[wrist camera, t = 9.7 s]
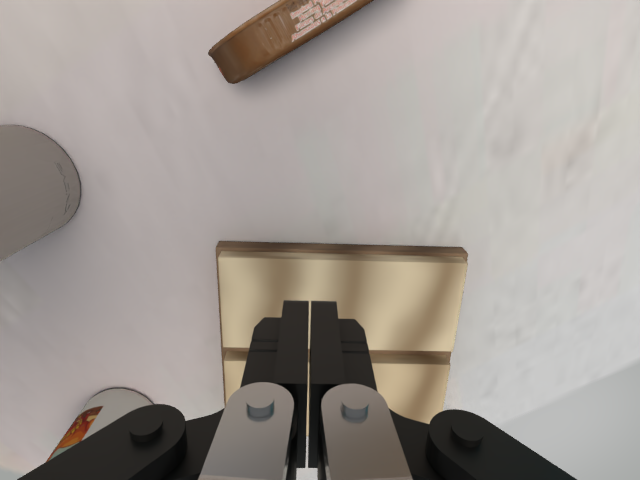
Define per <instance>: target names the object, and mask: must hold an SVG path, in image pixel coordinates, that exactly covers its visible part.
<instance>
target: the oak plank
mask: <svg viewBox="0 0 640 480" xmlns="http://www.w3.org/2000/svg"><path fill="white" fill-rule="evenodd" d="M218 264H219V282H220V301H221V320H222V338H223V347H237V348H250V343H251V339H252V335H253V331H254V327H255V326H256V325H257V324H258V323H259V322H260V321H261V320H262V319H263V318H264V317H280V318H281V316H282V309H283V301H284V300H300V301H309V331H308V349H310V320H311V301H336V302H337V310H338V319H355V320H356V321H357V322H358V323H359V324H360V325H361V326H362V327H363V328H364V330H365V334H366V339H367V344H368V348H369V350H401V351H453V348H454V342H455V336H456V330H457V324H458V318H459V312H460V306H461V300H462V295H463V289H464V283H465V277H466V271H467V265H468V263H467V262H466V261H465V260H464V259H463V257H454V256H414V255H374V254H334V253H293V252H253V251H221V253H220V255H219V257H218Z"/></svg>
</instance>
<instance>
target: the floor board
mask: <svg viewBox="0 0 640 480" xmlns="http://www.w3.org/2000/svg"><path fill="white" fill-rule="evenodd" d="M221 251H253V252H293V253H334V254H374V255H414V256H454V257H463V259H464V260H465V261H466V262H467V257H468V253H467V252H466V251H465V250H464V249H463V248H462V247H427V246H388V245H349V244H310V243H270V242H231V241H219V243H218V244H217V246H216V260H217V278H218V295H219V313H220V330H221V348H222V366H223V383H224V401H225V406H226V404H227V401H228V399H229V398H230V396H231V395H232V394H233V393H234V392H235V391H237V390H238V389H239V388H240V386H241V381H242V377H243V373H244V369H245V364H246V360H247V356H248V352H249V348H237V347H223V338H222V320H221V301H220V282H219V264H218V257H219V255H220V253H221ZM309 354H310V349H308V392H307V426H306V436H309ZM369 354H370V358H371V363H372V367H373V372H374V377H375V381H376V386H377V391H378V393H379V394H380V395H381V396H382V397H383V398H384V399H385V401H386V403H387V405H388V408H390V409H391V410H392V411H394V412H395V413H397V414H399V415H401V416H403V417H406V418H409V419H412V420H416V421H420V422H423V423H427V424H430V421H431V419H432V418H433V417H434V416H435V415H436V414H438V413H439V412H442V411H443V405H444V399H445V393H446V387H447V381H448V376H449V370H450V363H449V362H450V356H451V351H401V350H369Z"/></svg>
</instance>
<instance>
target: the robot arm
mask: <svg viewBox="0 0 640 480" xmlns="http://www.w3.org/2000/svg"><path fill="white" fill-rule="evenodd" d="M79 199H80V182H79V179H78V175H77V172H76V170H75V168H74V166H73V164H72V162H71V160H70V159H69V157H68V156H67V155H66V153H65V152H64V151H63V149H62V148H60V147H59V146H58V145H57V144H56V143H55V142H54V141H53V140H51V139H50V138H48V137H47V136H45V135H44V134H42V133H40V132H38V131H35V130H33V129H31V128H27V127H23V126H18V125H2V126H0V261H2V260H4V259H6V258H7V257H9V256H11V255H13V254H14V253H16V252H18V251H20V250H21V249H23V248H25V247H27V246H28V245H30V244H32V243H34V242H36V241H37V240H39V239H41V238H43V237H44V236H46V235H48V234H49V233H51V232H53V231H55V230H56V229H58V228H60V227H61V226H63V225H64V224H65V223H67V222H68V221H69V220H70V219H71V217H72V216H73V215H74V214H75V212H76V209H77V207H78V205H79ZM308 331H309V301H300V300H284V301H283V309H282V316H281V318H280V317H264V318H263V319H262V320H261V321H260V322H259V323H258V324H257V325H256V326H255V327H254V331H253V335H252V339H251V343H250V348H249V352H248V356H247V360H246V364H245V369H244V373H243V377H242V381H241V386H240V388H239V389H238V390H237V391H235V392H234V393H233V394H232V395H231V396H230V398H229V399H228V401H227V404H226V406H225V408H224V409H222V410H221V411H219V412H217V413H214V414H212V415H208V416H205V417H201V418H197V419H192V420H188V421H185V418H184V416H183V414H182V413H181V412H180V411H179V410H178V409H176V408H175V407H172V406H169V405H164V404H154V405H147V406H143V407H140V408H137V409H135V410H132V411H131V412H129V413H127V414H125V415H124V416H122V417H120V418H119V419H117V420H115V421H114V422H112V423H110V424H109V425H107V426H105V427H104V428H102V429H100V430H99V431H97V432H95V433H94V434H92V435H90V436H89V437H87V438H85V439H84V440H82V441H80V442H79V443H77V444H75V445H74V446H72V447H71V448H69V449H67V450H66V451H64V452H62V453H61V454H59V455H57V456H56V457H54V458H52V459H51V460H49V461H47V462H46V463H44V464H42V465H41V466H39V467H37V468H36V469H34V470H32V471H31V472H29V473H27V474H26V475H24V476H22V477H21V478H19V479H17V480H296V469H297V468H305V460H306V426H307V392H308ZM308 468H317V469H318V480H577V479H575V478H574V477H572V476H570V475H569V474H568V473H566V472H565V471H563V470H562V469H560V468H558V467H557V466H555V465H554V464H552V463H551V462H549V461H548V460H546V459H545V458H543V457H542V456H540V455H539V454H537V453H536V452H534V451H532V450H531V449H529V448H528V447H527V446H525V445H523V444H522V443H520V442H519V441H517V440H516V439H514V438H513V437H511V436H510V435H508V434H507V433H505V432H504V431H502V430H501V429H499V428H498V427H496V426H495V425H493V424H492V423H490V422H488V421H487V420H485V419H484V418H482V417H480V416H478V415H476V414H474V413H471V412H468V411H463V410H445V411H442V412H439V413H438V414H436V415H435V416H434V417H433V418H432V419H431V421H430V424H427V423H423V422H420V421H416V420H412V419H409V418H406V417H403V416H401V415H399V414H397V413H395V412H394V411H392V410H391V409H390V408H388V405H387V403H386V401H385V399H384V398H383V397H382V396H381V395H380V394H379V393H378V391H377V386H376V381H375V377H374V372H373V367H372V363H371V358H370V354H369V348H368V344H367V339H366V334H365V330H364V328H363V327H362V326H361V325H360V324H359V323H358V322H357V321H356V320H355V319H338V310H337V302H336V301H311V320H310V354H309V442H308Z"/></svg>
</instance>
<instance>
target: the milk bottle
mask: <svg viewBox="0 0 640 480" xmlns="http://www.w3.org/2000/svg"><path fill="white" fill-rule="evenodd" d="M147 405H153V404H152V403H151V402H150V401H149V400H148V399H147V398H145V397H144V396H143V395H141V394H139V393H137V392H134V391H131V390H127V389H109V390H106V391H103V392H101V393H99V394H97V395H95V396H94V397H93V398H91V399H90V400H89V402H88V403H87V404H86V406H85V407H84V408H83V410H82V411H81V412H80V414H79V415H78V417H77V418H76V419H75V421H74V422H73V424H72V425H71V427H70V428H69V429H68V431H67V432H66V434H65V435H64V437H63V438H62V439H61V441H60V442H59V444H58V445H57V447H56V448H55V449H54V451H53V452H52V454H51V455H50V457H49V458H48V460H47V461H49V460H51V459H52V458H54V457H56V456H57V455H59V454H61V453H62V452H64V451H66V450H67V449H69V448H71V447H72V446H74V445H75V444H77V443H79V442H80V441H82V440H84V439H85V438H87V437H89V436H90V435H92V434H94V433H95V432H97V431H99V430H100V429H102V428H104V427H105V426H107V425H109V424H110V423H112V422H114V421H115V420H117V419H119V418H120V417H122V416H124V415H125V414H127V413H129V412H131V411H132V410H135V409H137V408H140V407H143V406H147ZM47 461H46V462H47ZM46 462H45V463H46Z"/></svg>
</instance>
